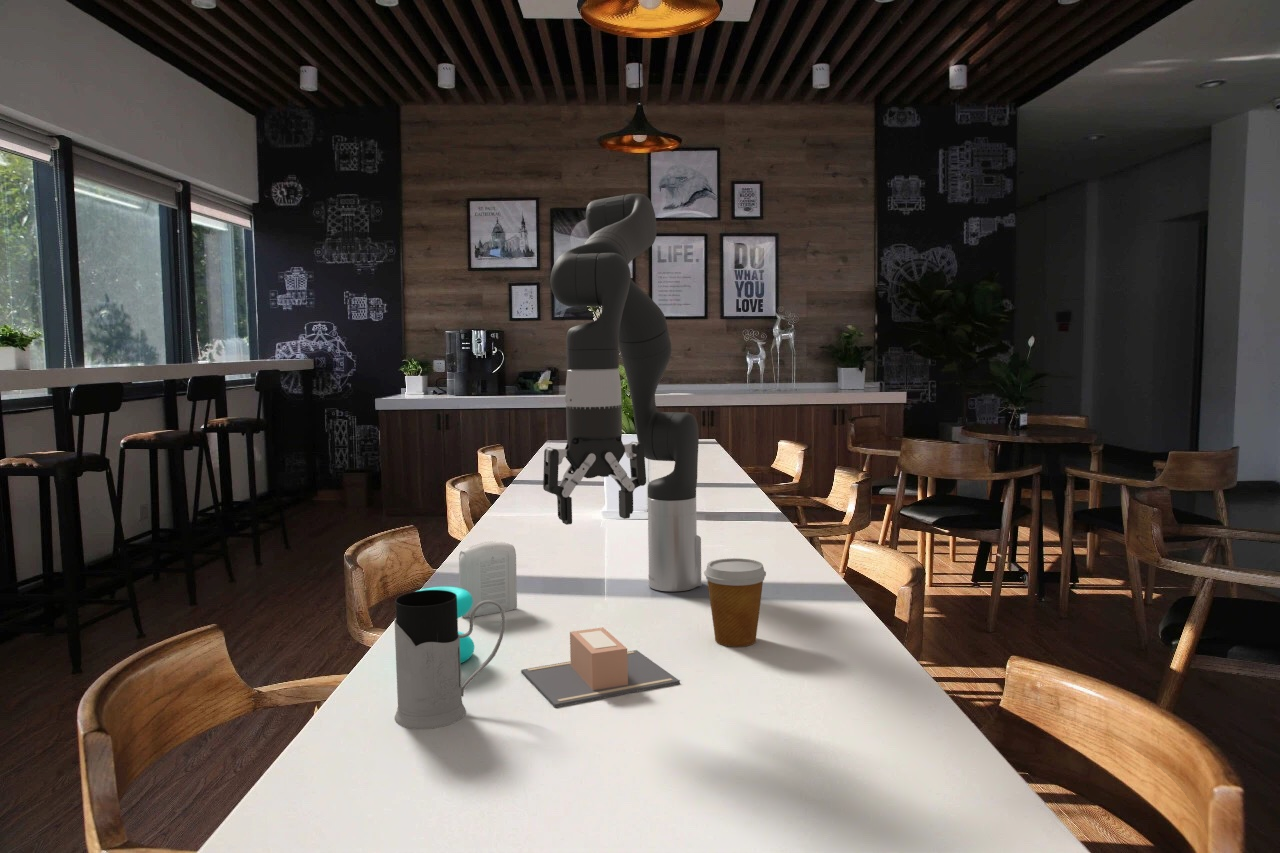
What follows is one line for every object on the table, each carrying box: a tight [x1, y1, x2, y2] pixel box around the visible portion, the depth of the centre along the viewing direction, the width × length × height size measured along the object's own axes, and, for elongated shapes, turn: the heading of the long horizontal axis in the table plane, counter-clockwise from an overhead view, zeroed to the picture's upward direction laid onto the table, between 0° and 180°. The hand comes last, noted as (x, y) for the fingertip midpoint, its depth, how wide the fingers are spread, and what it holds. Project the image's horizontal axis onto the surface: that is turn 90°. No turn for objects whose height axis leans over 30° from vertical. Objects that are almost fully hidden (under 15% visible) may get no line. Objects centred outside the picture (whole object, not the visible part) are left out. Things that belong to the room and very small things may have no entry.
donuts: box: [414, 586, 475, 664], centre depth 134 cm, size 10×10×10 cm
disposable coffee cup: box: [703, 557, 767, 648], centre depth 140 cm, size 10×10×12 cm
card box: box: [569, 627, 628, 690], centre depth 126 cm, size 10×5×5 cm, turn 21°
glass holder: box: [393, 590, 506, 730], centre depth 115 cm, size 9×14×15 cm, turn 112°
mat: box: [520, 649, 681, 708], centre depth 126 cm, size 18×14×1 cm
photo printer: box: [458, 540, 518, 619], centre depth 158 cm, size 10×4×12 cm, turn 123°
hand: (596, 520), depth 124 cm, fingers open, 8 cm apart
